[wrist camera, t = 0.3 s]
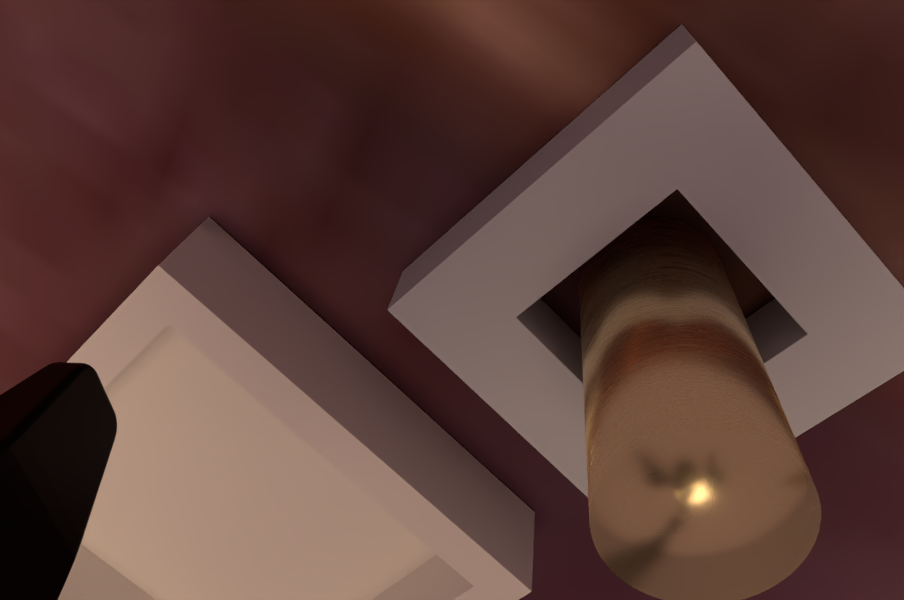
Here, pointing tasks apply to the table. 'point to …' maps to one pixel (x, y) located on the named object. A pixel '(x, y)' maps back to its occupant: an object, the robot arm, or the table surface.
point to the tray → (276, 457)
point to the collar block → (613, 211)
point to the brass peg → (685, 426)
